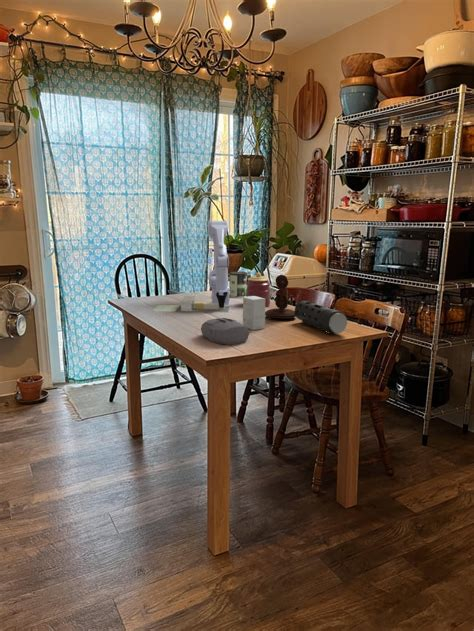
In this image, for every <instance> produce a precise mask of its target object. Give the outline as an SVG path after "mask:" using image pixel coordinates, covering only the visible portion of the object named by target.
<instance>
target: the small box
mask: <svg viewBox="0 0 474 631" xmlns="http://www.w3.org/2000/svg"><path fill="white" fill-rule="evenodd" d="M265 312H266V307H265V298H261V297H257V296H249V297H243V298H242V324H243V325H245V326H246V327H247V328H248V330H249V329H250V330H252V331H255V330H256V331H257V330H263V329H266V315H265Z"/></svg>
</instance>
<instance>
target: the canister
mask: <svg viewBox="0 0 474 631" xmlns="http://www.w3.org/2000/svg"><path fill="white" fill-rule="evenodd" d="M269 281H270V278H268V277H267V276H266V275H262V274H261V272H256V274H255V275H251V276H249V277H247V283H246V285H247V289H246V297H249V296H257V297H261V298H265V308H267V307H270V306H271V287H270V286H271V282H269Z"/></svg>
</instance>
